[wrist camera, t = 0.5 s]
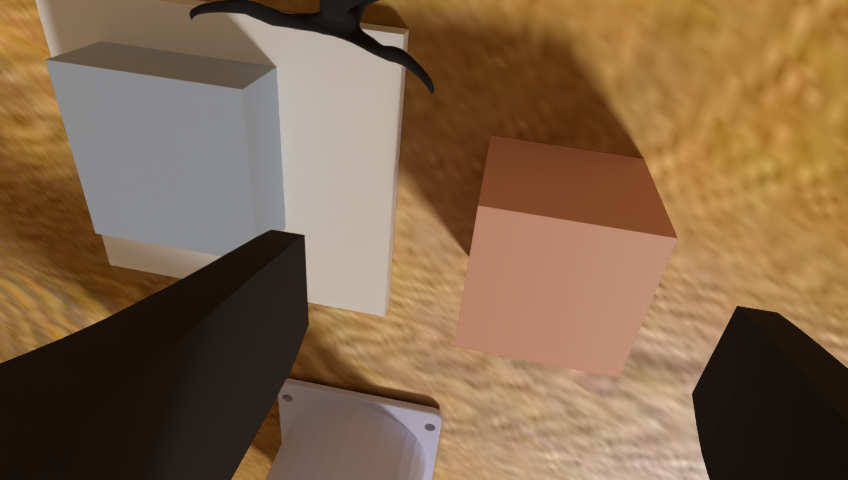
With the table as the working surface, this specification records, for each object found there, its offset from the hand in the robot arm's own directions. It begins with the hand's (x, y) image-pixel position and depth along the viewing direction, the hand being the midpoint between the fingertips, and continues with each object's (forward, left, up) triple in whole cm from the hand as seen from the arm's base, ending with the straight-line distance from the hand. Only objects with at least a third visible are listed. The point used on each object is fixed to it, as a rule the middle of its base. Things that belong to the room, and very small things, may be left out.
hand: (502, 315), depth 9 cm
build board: (-3, +10, -10) cm, 14 cm away
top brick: (-3, -2, -10) cm, 11 cm away
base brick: (-2, +11, -9) cm, 14 cm away
